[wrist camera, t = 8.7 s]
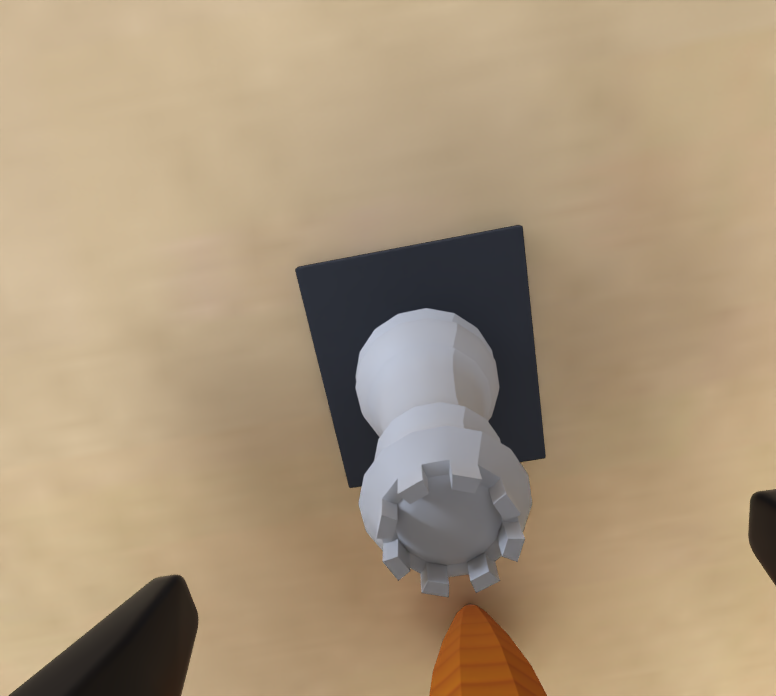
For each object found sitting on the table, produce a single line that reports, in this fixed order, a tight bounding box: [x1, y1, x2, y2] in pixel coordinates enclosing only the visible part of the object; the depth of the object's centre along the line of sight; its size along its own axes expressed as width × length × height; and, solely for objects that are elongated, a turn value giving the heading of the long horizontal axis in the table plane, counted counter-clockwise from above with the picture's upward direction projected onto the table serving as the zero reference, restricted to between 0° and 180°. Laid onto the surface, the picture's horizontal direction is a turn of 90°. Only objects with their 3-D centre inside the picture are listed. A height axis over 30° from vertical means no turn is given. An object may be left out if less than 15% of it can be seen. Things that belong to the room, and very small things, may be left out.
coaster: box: [295, 225, 546, 488], centre depth 16 cm, size 8×7×1 cm
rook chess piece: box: [355, 308, 532, 597], centre depth 12 cm, size 4×4×8 cm
